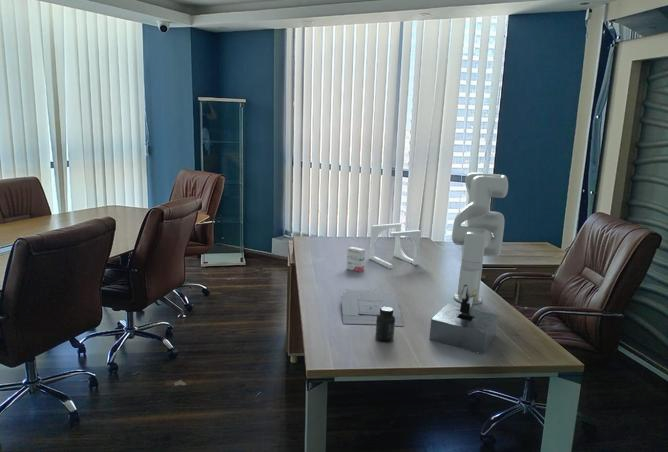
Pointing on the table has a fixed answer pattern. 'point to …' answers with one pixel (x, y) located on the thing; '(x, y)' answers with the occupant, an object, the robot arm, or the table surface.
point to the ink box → (355, 259)
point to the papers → (368, 306)
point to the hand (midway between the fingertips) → (466, 310)
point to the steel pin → (470, 303)
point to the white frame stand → (398, 250)
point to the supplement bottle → (385, 325)
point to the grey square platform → (463, 328)
